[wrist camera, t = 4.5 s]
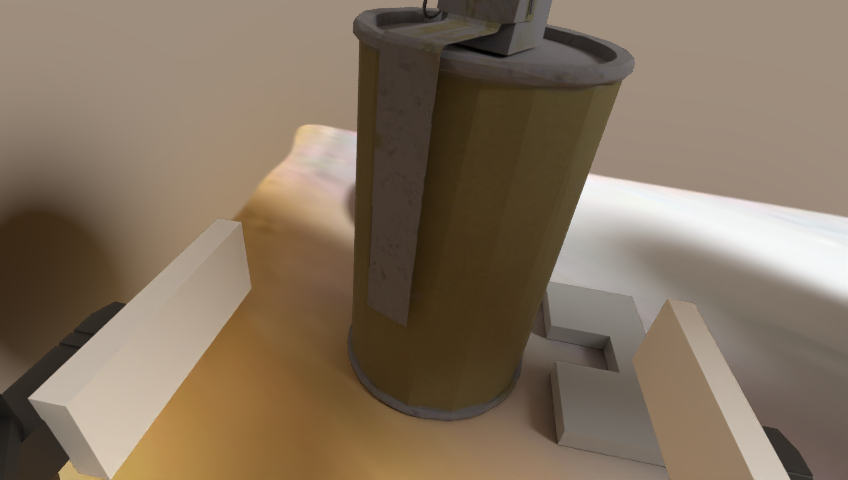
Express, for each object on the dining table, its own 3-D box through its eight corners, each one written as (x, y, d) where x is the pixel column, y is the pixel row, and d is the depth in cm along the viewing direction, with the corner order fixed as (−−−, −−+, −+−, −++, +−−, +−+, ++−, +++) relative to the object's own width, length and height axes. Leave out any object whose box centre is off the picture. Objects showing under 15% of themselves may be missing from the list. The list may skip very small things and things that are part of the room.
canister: (411, 267, 32) (451, -60, 21) (544, 333, 28) (685, -28, 17) (303, 360, 24) (271, -85, 13) (467, 471, 20) (634, -37, 9)
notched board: (625, 309, 31) (631, 296, 30) (679, 469, 21) (691, 456, 21) (541, 293, 31) (545, 280, 30) (557, 444, 22) (564, 431, 21)
